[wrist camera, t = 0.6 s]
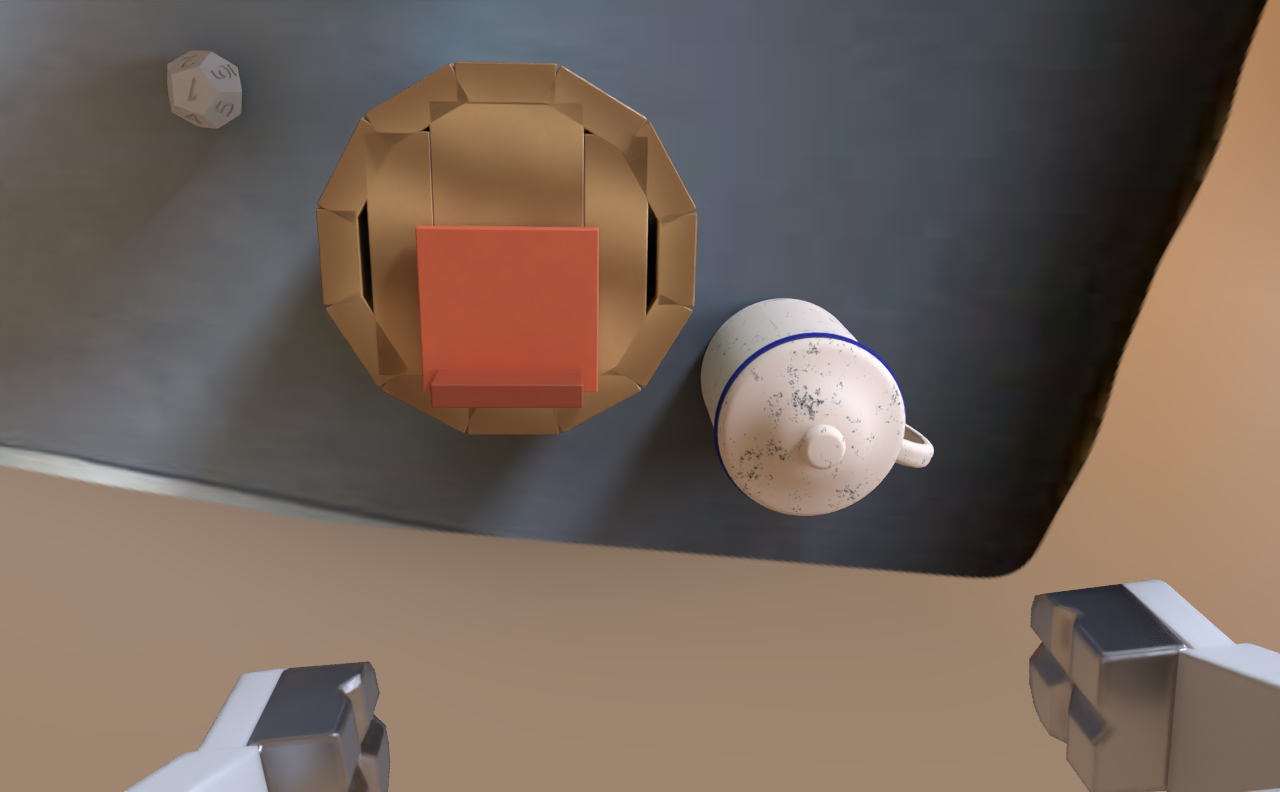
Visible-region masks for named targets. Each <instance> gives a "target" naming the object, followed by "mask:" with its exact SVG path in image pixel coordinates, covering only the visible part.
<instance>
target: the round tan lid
mask: <svg viewBox="0 0 1280 792" xmlns="http://www.w3.org/2000/svg"><path fill="white" fill-rule="evenodd" d="M646 120H647V119H646V117H645V116H643V115H641V114H640V113H638V112H637V111H635V110H633V109H632V108H630V107H629V106H627V105H625V104H624V103H622V102H621V101H619V100H617V99H616V98H614V97H613V96H611V95H609V94H608V93H606V92H604V91H603V90H601V89H600V88H598V87H596V86H595V85H593V84H592V83H590V82H588V81H587V80H585V79H584V78H582V77H580V76H579V75H577V74H575V73H574V72H572V71H571V70H569V69H567V68H566V67H564V66H562V65H561V66H560V67H559V69H558V71H557V64H556V63H507V62H455V63H454V64H453V63H452V64H447V65H446V66H444V67H442V68H441V69H439V70H437V71H436V72H434V73H432V74H431V75H429V76H427V77H426V78H424V79H422V80H421V81H419V82H417V83H416V84H414V85H412V86H411V87H409V88H407V89H405V90H404V91H402V92H400V93H399V94H397V95H395V96H394V97H392V98H390V99H389V100H387V101H385V102H384V103H382V104H380V105H379V106H377V107H375V108H374V109H372V110H370V111H369V112H367V113H365V117H363V118H361V119H360V120H359V122H358V124H357V126H356V128H355V130H354V132H353V134H352V136H351V138H350V140H349V142H348V144H347V146H346V148H345V150H344V152H343V154H342V156H341V158H340V160H339V162H338V164H337V166H336V168H335V170H334V172H333V174H332V176H331V177H330V179H329V181H328V183H327V185H326V187H325V189H324V191H323V193H322V195H321V197H320V199H319V201H318V203H317V205H318V206H320V207H319V208H317V209H316V217H317V229H318V242H319V255H320V267H321V280H322V293H323V304H324V305H329V306H328V307H327V308H326V311H327V313H328V314H329V316H330V317H331V319H332V320H333V321H334V323H335V324H336V326H337V327H338V329H339V330H340V332H341V333H342V335H343V336H344V338H345V339H346V341H347V342H348V344H349V345H350V347H351V348H352V350H353V351H354V353H355V354H356V355H357V357H358V358H359V360H360V361H361V363H362V364H363V366H364V367H365V369H366V370H367V372H368V373H369V375H370V376H371V378H372V379H373V381H374V382H375V384H376V385H377V386H378V387H380V386H382V385H383V384H384V386H383V388H382V391H384V392H386V393H388V394H390V395H392V396H394V397H395V398H397V399H399V400H401V401H403V402H405V403H407V404H409V405H411V406H413V407H414V408H416V409H418V410H420V411H422V412H424V413H426V414H428V415H430V416H432V417H433V418H435V419H437V420H439V421H441V422H443V423H445V424H447V425H449V426H451V427H452V428H454V429H456V430H458V431H460V432H462V433H464V432H465V431H466V429H467V431H468V434H559V428H560V430H561V431H562V432H566V431H568V430H570V429H571V428H573V427H575V426H577V425H579V424H581V423H583V422H584V421H586V420H588V419H590V418H592V417H594V416H595V415H597V414H599V413H601V412H603V411H605V410H607V409H608V408H610V407H612V406H614V405H616V404H618V403H619V402H621V401H623V400H625V399H627V398H629V397H630V396H632V395H634V394H636V393H638V392H640V391H641V387H640V386H642V387H644V388H645V387H646V385H647V384H648V382H649V380H650V379H651V377H652V376H653V374H654V372H655V371H656V369H657V368H658V366H659V365H660V363H661V361H662V360H663V358H664V357H665V355H666V353H667V352H668V350H669V349H670V347H671V345H672V344H673V342H674V341H675V339H676V337H677V336H678V334H679V333H680V331H681V329H682V328H683V326H684V325H685V323H686V321H687V320H688V318H689V317H690V315H691V314H692V312H693V311H692V308H691V307H693V306H694V298H695V270H696V242H697V213H696V212H695V210H696V207H695V205H694V203H693V201H692V199H691V197H690V195H689V194H688V192H687V190H686V188H685V186H684V184H683V182H682V180H681V178H680V177H679V175H678V173H677V171H676V169H675V167H674V165H673V163H672V162H671V160H670V158H669V156H668V154H667V152H666V150H665V148H664V147H663V145H662V143H661V141H660V139H659V137H658V135H657V133H656V132H655V130H654V128H653V126H652V124H651V123H650V122H649V121H647V122H646ZM428 127H429V129H430V130H424V129H426V128H428ZM584 129H585V130H587V131H589V132H585V133H584ZM648 204H649V206H650V207H651V209H652V211H653V213H654V215H655V217H656V218H657V222H656V264H655V294H654V296H653V298H652V299H651V301H650V303H649V304H648V306H647V307H646V296H647V248H648ZM366 206H367V216H368V232H369V248H370V263H371V279H372V295H373V301H372V299H371V298H370V296H369V294H368V293H367V285H366V270H365V254H364V239H363V223H362V213H363V211H364V210H365V208H366ZM418 225H427V226H524V227H598V228H599V291H598V392H583V407H582V408H433V407H432V406H431V392H424V391H423V377H422V357H421V337H420V316H419V296H418V276H417V255H416V235H415V228H416V227H417V226H418Z"/></svg>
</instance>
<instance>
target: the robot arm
mask: <svg viewBox="0 0 1280 792" xmlns="http://www.w3.org/2000/svg"><path fill="white" fill-rule="evenodd" d="M1030 627H1031V628H1032V629H1033V631H1034V632H1035V633H1036V634H1037V636H1038V637H1039V638H1040V640H1041V641H1042V643H1041V644H1040V645H1039V647H1038V648H1037V649H1036V651H1035V652H1034V653H1033V655H1032V656H1031V658H1030V659H1029V675H1030V676H1029V681H1030V682H1029V683H1030V689H1031V694H1032V698H1033V703H1034V707H1035V709H1036V712H1037V714H1038V716H1039V719H1040V721H1041V723H1042V724H1043V726H1044V727H1045V728H1046V730H1047V732H1048V733H1049V735H1051V736H1053V737H1055V738H1057V739H1059V740H1061V741H1063V742H1065V743H1066V744H1067V755H1066V756H1067V757H1066V759H1067V761H1068V762H1069V764H1070V765H1071V766H1072V768H1073V769H1074V771H1075V772H1076V773H1077V775H1078V776H1079V778H1080V779H1081V781H1082V782H1083V783H1084V785H1085V786H1086V787H1087V789H1088V790H1089V792H1154V791H1167V792H1280V654H1279V653H1277V652H1274V651H1271V650H1267V649H1265V648H1262V647H1258V646H1256V645H1253V644H1249V643H1245V644H1235V643H1234V642H1233V641H1231V640H1230V639H1229V638H1228V637H1227V636H1226V635H1224V634H1223V633H1222V632H1221V631H1220V630H1219V629H1218V628H1216V626H1214V625H1213V624H1212V623H1211V622H1210V621H1209V620H1208V619H1206V618H1205V617H1204V616H1203V615H1202V614H1201V613H1200V612H1198V611H1197V610H1196V609H1195V608H1194V607H1193V606H1192V605H1191V604H1189V603H1188V602H1187V601H1186V600H1185V599H1184V598H1183V597H1181V596H1180V595H1179V594H1178V593H1177V592H1176V591H1175V590H1174V589H1172V588H1171V587H1170V586H1169V585H1168V584H1167V583H1165V582H1163V581H1159V580H1156V579H1154V580H1147V581H1140V582H1133V583H1126V584H1118V585H1109V586H1101V587H1095V588H1086V589H1078V590H1070V591H1062V592H1054V593H1046V594H1041V595H1036V596H1035V598H1034V601H1033V604H1032V608H1031V626H1030ZM378 697H379V688H378V684H377V679H376V675H375V670H374V668H373V667H372V665H371V664H370V662H358V663H346V664H334V665H322V666H311V667H298V668H289V669H285V668H280V669H272V670H263V671H255V672H248V673H245V674H243V675H241V676H240V677H239V679H238V681H237V682H236V684H235V686H234V688H233V689H232V691H231V693H230V695H229V696H228V698H227V700H226V702H225V703H224V705H223V707H222V709H221V710H220V712H219V714H218V716H217V717H216V719H215V721H214V723H213V724H212V726H211V728H210V730H209V731H208V733H207V735H206V737H205V738H204V740H203V742H202V744H201V745H200V747H199V749H198V751H197V752H188V753H183V754H182V755H180V756H179V757H177V758H176V759H174V760H172V761H171V762H169V763H168V764H166V765H165V766H163V767H161V768H160V769H158V770H157V771H155V772H154V773H152V774H150V775H149V776H147V777H146V778H144V779H143V780H141V781H139V782H138V783H137V784H135V785H133V786H132V787H130V788H129V789H127V790H125V791H124V792H388V787H389V773H390V754H389V742H388V736H387V731H386V725H385V724H384V723H382V721H381V720H379V719H378V718H377V717H376V716H375V715H374V714H373V713H374V710H375V706H376V703H377V700H378Z"/></svg>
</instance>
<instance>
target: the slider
mask: <svg viewBox="0 0 1280 792" xmlns="http://www.w3.org/2000/svg"><path fill="white" fill-rule="evenodd" d="M415 235H416V255H417V276H418V296H419V316H420V337H421V357H422V377H423V391H424V392H431V406H432V407H433V408H582V407H583V392H598V291H599V228H598V227H524V226H427V225H418V226H417V227H416V228H415Z"/></svg>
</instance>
